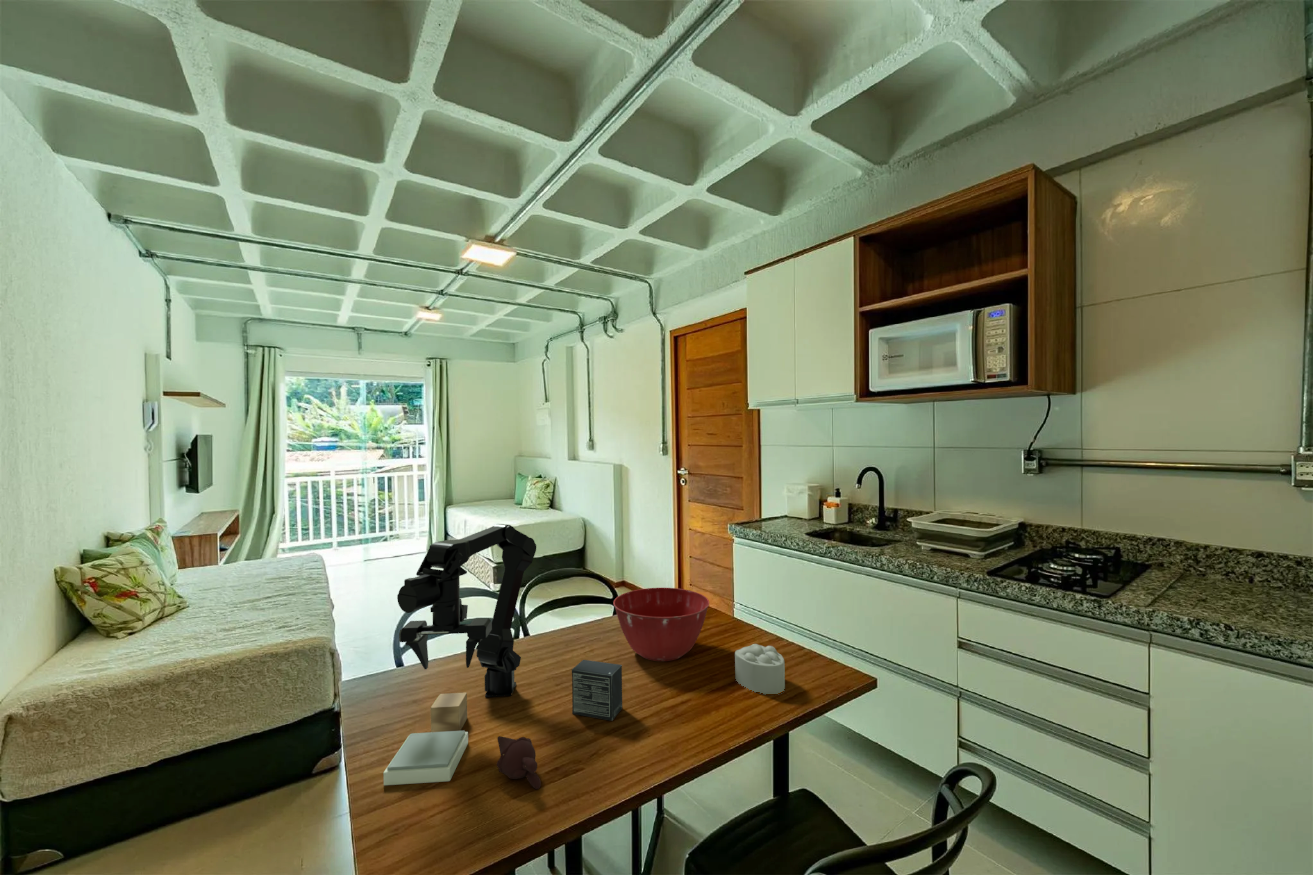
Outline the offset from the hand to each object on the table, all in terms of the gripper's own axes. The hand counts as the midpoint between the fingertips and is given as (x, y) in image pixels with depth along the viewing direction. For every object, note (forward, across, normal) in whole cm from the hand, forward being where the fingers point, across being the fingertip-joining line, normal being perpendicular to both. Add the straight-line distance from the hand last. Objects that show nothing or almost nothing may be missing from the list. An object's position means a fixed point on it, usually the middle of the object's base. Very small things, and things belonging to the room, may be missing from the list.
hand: (447, 667), depth 115 cm
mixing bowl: (+13, -51, -35) cm, 63 cm away
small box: (+13, -33, -3) cm, 36 cm away
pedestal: (+13, -1, +13) cm, 19 cm away
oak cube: (+13, 0, 0) cm, 13 cm away
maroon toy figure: (+13, -19, +18) cm, 29 cm away
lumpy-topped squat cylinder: (+13, -75, -13) cm, 77 cm away
